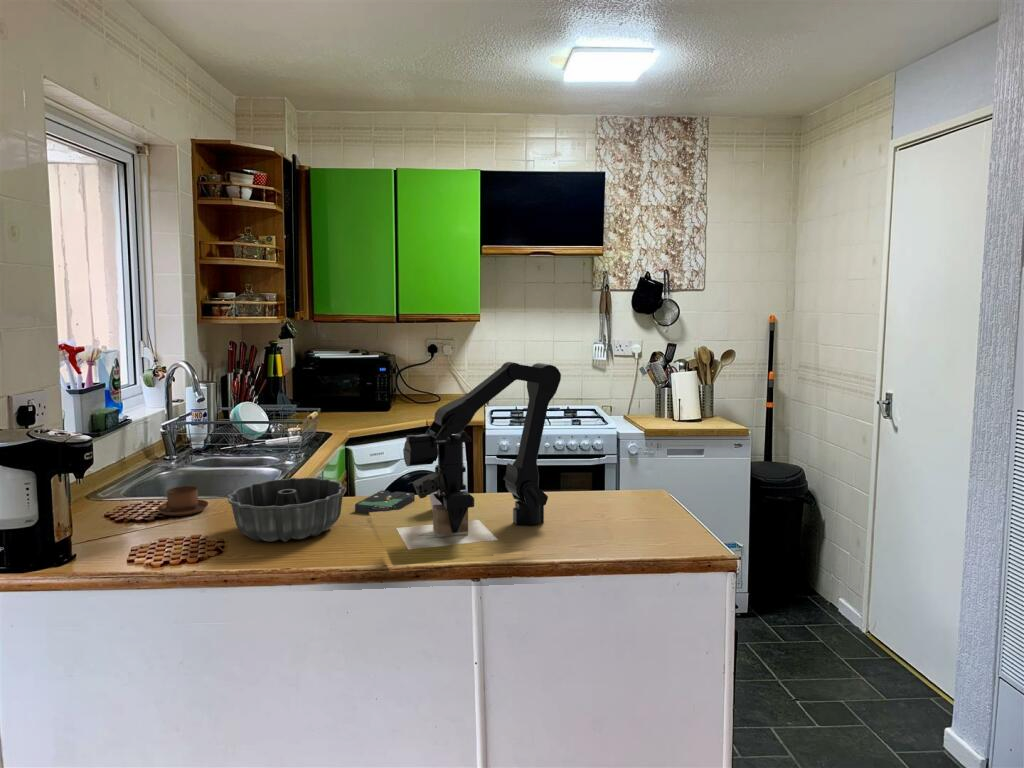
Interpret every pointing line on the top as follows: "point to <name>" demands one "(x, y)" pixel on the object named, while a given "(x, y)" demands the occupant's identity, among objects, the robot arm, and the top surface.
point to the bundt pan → (287, 508)
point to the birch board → (427, 538)
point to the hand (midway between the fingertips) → (451, 529)
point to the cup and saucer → (182, 502)
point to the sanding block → (447, 522)
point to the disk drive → (384, 502)
